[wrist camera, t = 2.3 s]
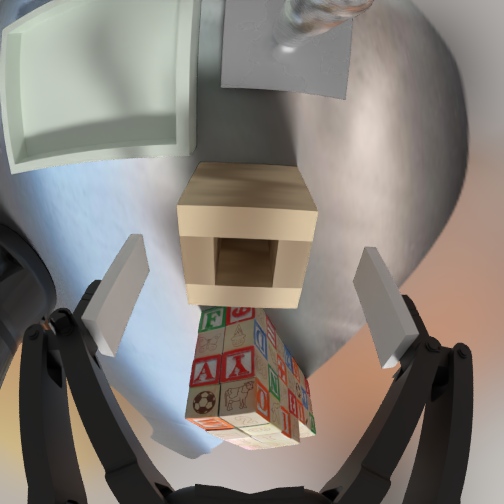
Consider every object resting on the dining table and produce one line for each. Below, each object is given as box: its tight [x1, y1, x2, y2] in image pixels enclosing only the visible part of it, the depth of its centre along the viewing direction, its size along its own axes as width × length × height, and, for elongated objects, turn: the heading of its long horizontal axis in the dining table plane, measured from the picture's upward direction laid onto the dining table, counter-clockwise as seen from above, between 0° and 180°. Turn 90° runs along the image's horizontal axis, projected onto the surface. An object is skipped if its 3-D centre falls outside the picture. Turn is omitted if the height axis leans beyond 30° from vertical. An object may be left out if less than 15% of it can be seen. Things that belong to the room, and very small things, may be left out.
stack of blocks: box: [185, 306, 316, 450], centre depth 28 cm, size 21×6×12 cm, turn 24°
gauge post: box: [221, 0, 374, 100], centre depth 8 cm, size 8×8×12 cm
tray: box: [0, 0, 202, 174], centre depth 13 cm, size 17×14×2 cm
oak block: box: [177, 162, 318, 308], centre depth 18 cm, size 7×7×7 cm
